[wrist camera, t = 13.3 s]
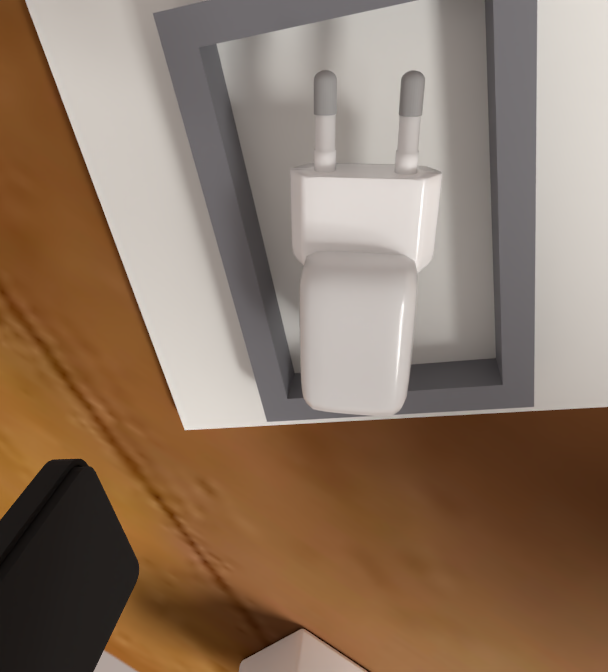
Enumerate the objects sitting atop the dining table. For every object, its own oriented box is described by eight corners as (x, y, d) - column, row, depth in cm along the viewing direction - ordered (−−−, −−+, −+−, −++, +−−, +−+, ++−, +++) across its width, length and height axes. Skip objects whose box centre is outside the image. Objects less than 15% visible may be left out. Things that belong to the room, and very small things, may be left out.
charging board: (719, -192, 16) (779, -228, 13) (646, 390, 25) (673, 434, 23) (35, -14, 21) (-16, -15, 18) (191, 417, 30) (171, 456, 28)
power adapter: (304, 59, 20) (270, 80, 15) (447, 59, 19) (462, 82, 14) (307, 335, 25) (284, 418, 20) (417, 342, 25) (420, 429, 20)
